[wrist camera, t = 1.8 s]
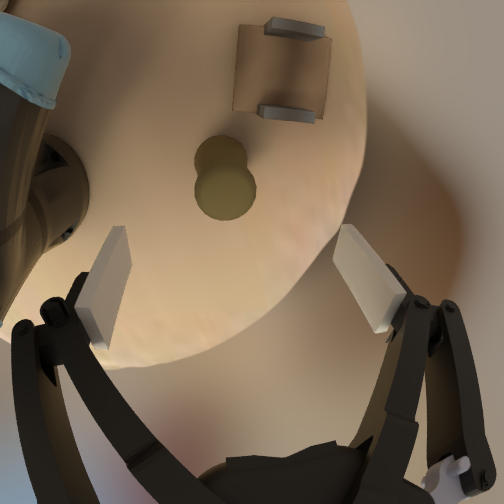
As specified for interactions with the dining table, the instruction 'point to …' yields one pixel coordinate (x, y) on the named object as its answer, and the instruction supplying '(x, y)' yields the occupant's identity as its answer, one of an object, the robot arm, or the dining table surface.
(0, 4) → the grey stone
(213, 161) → the cork
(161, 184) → the dining table surface
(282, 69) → the stand
